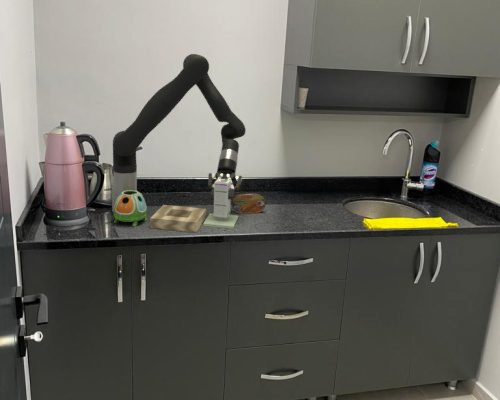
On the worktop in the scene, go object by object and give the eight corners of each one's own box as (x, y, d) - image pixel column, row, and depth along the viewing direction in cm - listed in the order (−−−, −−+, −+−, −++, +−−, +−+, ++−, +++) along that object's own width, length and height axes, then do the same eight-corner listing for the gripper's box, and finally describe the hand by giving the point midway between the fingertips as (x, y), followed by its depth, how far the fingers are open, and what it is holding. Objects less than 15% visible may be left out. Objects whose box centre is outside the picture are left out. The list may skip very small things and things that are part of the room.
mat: (203, 225, 198) (203, 223, 198) (210, 215, 211) (210, 213, 211) (233, 228, 197) (233, 226, 197) (238, 217, 210) (238, 215, 210)
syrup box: (227, 218, 200) (228, 183, 196) (212, 216, 201) (214, 181, 197) (230, 213, 206) (232, 179, 201) (216, 212, 207) (218, 178, 203)
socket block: (150, 228, 192) (150, 218, 191) (163, 214, 209) (163, 204, 208) (196, 232, 190) (196, 222, 189) (205, 218, 208) (206, 208, 206)
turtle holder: (155, 214, 208) (155, 186, 205) (138, 228, 191) (138, 198, 188) (126, 211, 210) (126, 183, 207) (108, 224, 193) (107, 195, 189)
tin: (231, 214, 215) (232, 195, 213) (230, 211, 218) (231, 193, 216) (265, 213, 219) (266, 194, 217) (263, 211, 222) (264, 192, 220)
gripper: (209, 156, 205) (202, 191, 197) (244, 159, 204) (239, 194, 196) (211, 166, 211) (205, 200, 204) (245, 168, 210) (240, 204, 202)
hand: (221, 197), depth 200 cm, fingers closed on syrup box, 6 cm apart
